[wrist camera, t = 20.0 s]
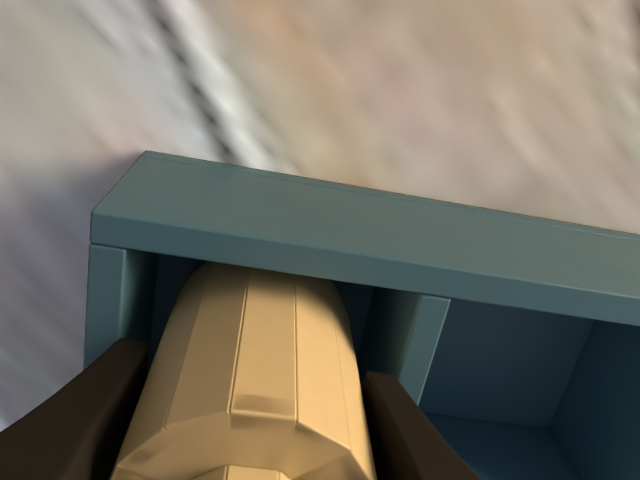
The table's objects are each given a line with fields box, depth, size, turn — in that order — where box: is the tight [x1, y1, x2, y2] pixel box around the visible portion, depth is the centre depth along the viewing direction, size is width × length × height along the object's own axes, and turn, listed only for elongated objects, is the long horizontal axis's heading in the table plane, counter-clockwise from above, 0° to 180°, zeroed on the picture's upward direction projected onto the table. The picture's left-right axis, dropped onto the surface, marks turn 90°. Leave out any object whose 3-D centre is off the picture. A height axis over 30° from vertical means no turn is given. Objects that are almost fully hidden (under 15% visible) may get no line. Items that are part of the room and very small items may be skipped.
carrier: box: [83, 151, 640, 480], centre depth 17 cm, size 14×14×5 cm
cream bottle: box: [109, 261, 377, 480], centre depth 12 cm, size 4×5×8 cm
